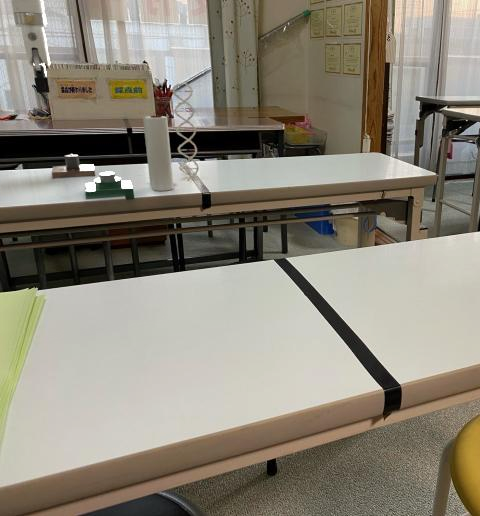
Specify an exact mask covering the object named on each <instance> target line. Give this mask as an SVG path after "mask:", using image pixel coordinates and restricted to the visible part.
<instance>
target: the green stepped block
mask: <svg viewBox="0 0 480 516" xmlns="http://www.w3.org/2000/svg"><path fill="white" fill-rule="evenodd" d="M115 179H116V180H114V181H100V177H97V178H95V179H93V182H87V183H86V182H85V183H84V193H85V198H86V200H95V199H105V198H106V199H107V198H119V197H124V198H125V200H127V201H128V200H135V193H134V186H133V184H132V182H131V180H122V178H121V177H119V176H115Z"/></svg>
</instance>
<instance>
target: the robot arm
mask: <svg viewBox="0 0 480 516" xmlns="http://www.w3.org/2000/svg"><path fill="white" fill-rule="evenodd" d="M10 1H11V8H12V14H13V19H14V24H15V27H18V28H20V29H21V35H22V40H23V45H24V49H25V54H26V59H27V61H28V65H30V66H32V69H33V75H34V77H33V78H34V84H35V90H36V93H38V94H49V93H50V91H51V90H50V85H49V84H50V83H49V78H48V77H47V71H46V66H47V67H49V66H51V59H50V55H49V48H48V42H47V37H46V33H45V30H44V29H48V21H47V14H46V10H45V3H44V0H10ZM45 64H46V65H45Z"/></svg>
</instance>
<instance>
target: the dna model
mask: <svg viewBox="0 0 480 516" xmlns="http://www.w3.org/2000/svg"><path fill="white" fill-rule="evenodd" d="M184 84H185V86H187V88H188V89H189V90H184V93H189V95H188V96H187V97H186V98H185V99H183V98H181V97H180V96H179V95H178V94H176V93H182V92H183V90H176V88H177V87H178V86H179V85H180V83H179V82H178V83H177V84H175V85H174V86H173V87H172V90H171V91H172V94H173V95H174V97H176V98H177V99H178V100H180V101H181V102H178V104H177V105H176V106H175V107H174V109H173V112H174V114H175V115H176V116H177V117H178V118H180V119H181V120H183V122H181V123H180V124H179V125H178V126H177V127H176V128H175V133H176V134H177V135H178V136H180V137H182V139H185V140H184V141H183V142H182V143H181V144H179V146H178V147H177V152H178V153H179V154H180V155H181V156H182V155H183V157H185V158H187V160H185V161H183V163H181V164H180V165H179V168H178V169H179V170H180V171H181V173H183V174H185V175H187V176H189V177H188V178H187V179H186V181H187V182H189V181H190V180H191V179H193V178H194V177H195V176H196V175H197V174H198V172H199V169H200V167H199V165H198V163H197V162H196V161H195V159H193V158H194V157H195V156H196V155H197V153H198V148H197V146H196V144H195V143H194V142H193V141H192V139H193V138H194V136H195V135H196V133H197V129H196V127H195V126H194V125H193V123H191V121H190V120H191V119H192V118H193V117H194V114H195V109H194V107H193V106H192V105H191V104H190V103H189V102H188V100H189V99H190V98H191V97H192V96H193V93H194V91H195V90H193V88H192V87H191V86H190V84H188V83H187V82H184ZM183 104H184V105H185V104H186V105H187V106H188V107H189V108H190V110H178V109H179V108H180V106H182V105H183ZM180 112H184V113H191V114H190V115H189V116H188V117H187V119H186V118H184V117H183V116H181V115H180V114H179V113H180ZM184 124H189V125H190V127H192V129H193V130H189V129H188V132H193V133H192V134H191V136H190V137H189V138H188V137H186V136H184V135H183V134H182V133H181V132H185V130H180V129H181V127H182V126H183V125H184ZM187 143H190V144H191V145H193V147H194V148H193V149H191V148H190V149H188V151H194V153H193V154H192V155H191V156H189V155H187V154H186V153H184V152H182V151H183V149H181V148H182V147H183V146H184V145H185V144H187ZM184 151H187V149H184ZM189 162H193V164H194V165H195V166H196V167H189V168H188V167H185V168H184V167H183V166H184V165H185V164H187V163H189ZM185 170H195V172H194V173H192V174H190V173H188V172H186V171H185Z"/></svg>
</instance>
